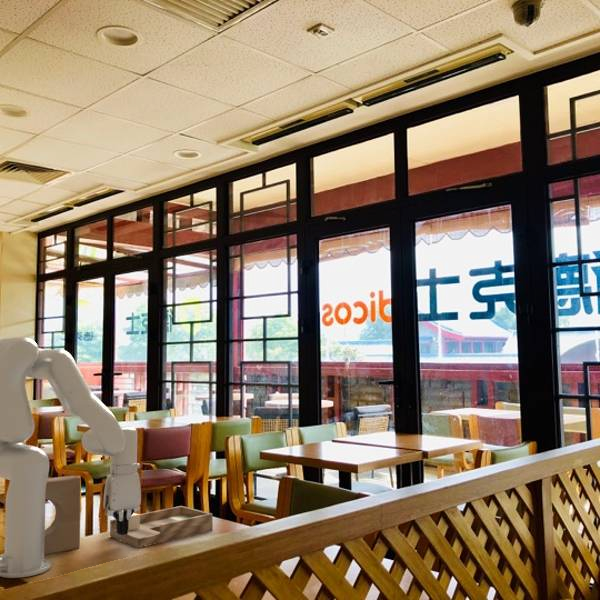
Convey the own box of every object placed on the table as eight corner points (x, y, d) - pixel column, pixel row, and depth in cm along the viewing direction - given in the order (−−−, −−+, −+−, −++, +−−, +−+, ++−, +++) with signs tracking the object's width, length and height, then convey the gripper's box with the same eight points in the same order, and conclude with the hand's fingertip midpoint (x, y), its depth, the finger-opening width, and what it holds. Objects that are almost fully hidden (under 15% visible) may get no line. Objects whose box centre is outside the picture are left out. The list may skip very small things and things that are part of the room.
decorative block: (40, 556, 180) (41, 482, 181) (34, 551, 184) (35, 479, 186) (80, 548, 186) (81, 477, 188) (73, 544, 191) (74, 474, 193)
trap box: (139, 547, 186) (139, 530, 186) (110, 537, 198) (110, 520, 198) (212, 530, 204) (212, 513, 205) (181, 521, 216) (181, 505, 217)
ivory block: (127, 530, 196) (127, 516, 196) (121, 528, 198) (121, 514, 199) (139, 527, 198) (139, 514, 199) (132, 525, 201) (133, 512, 202)
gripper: (139, 465, 199) (138, 527, 197) (93, 471, 188) (92, 536, 186) (152, 468, 193) (151, 531, 192) (106, 474, 183) (105, 541, 181)
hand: (122, 533), depth 189 cm, fingers closed
